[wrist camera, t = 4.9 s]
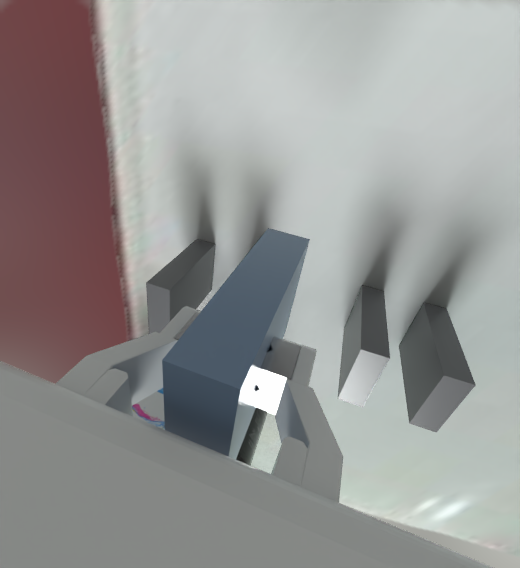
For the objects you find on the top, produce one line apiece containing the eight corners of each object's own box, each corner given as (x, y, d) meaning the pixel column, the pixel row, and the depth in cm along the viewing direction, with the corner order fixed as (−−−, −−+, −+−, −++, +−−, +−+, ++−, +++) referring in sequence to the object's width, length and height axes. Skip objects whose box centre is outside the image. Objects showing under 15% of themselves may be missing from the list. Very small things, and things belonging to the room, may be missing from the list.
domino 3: (383, 291, 26) (389, 358, 19) (363, 335, 29) (362, 407, 22) (362, 285, 26) (360, 349, 20) (343, 329, 29) (337, 398, 22)
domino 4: (446, 308, 25) (475, 385, 19) (419, 352, 28) (436, 432, 21) (423, 302, 25) (443, 375, 19) (399, 346, 28) (409, 423, 22)
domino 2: (309, 239, 13) (240, 389, 6) (286, 329, 16) (221, 497, 9) (268, 227, 13) (162, 360, 7) (252, 318, 16) (166, 473, 9)
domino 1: (215, 244, 28) (169, 290, 22) (211, 289, 31) (170, 342, 24) (197, 239, 28) (146, 282, 22) (194, 284, 31) (149, 335, 25)
